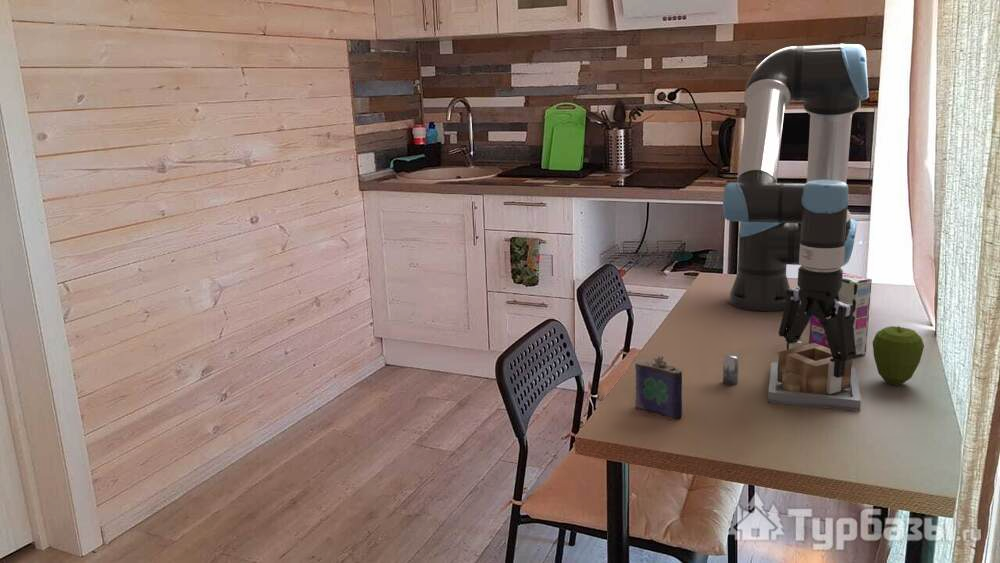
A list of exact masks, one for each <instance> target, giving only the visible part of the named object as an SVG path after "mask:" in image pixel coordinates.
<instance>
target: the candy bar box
mask: <svg viewBox="0 0 1000 563" xmlns="http://www.w3.org/2000/svg"><path fill="white" fill-rule="evenodd" d="M872 281H873V280H872V278H867V277H863V276H858V275H855V274H850V273H845V272H843V279H842V288H841V289H840V291H839V293H838V295H839V299H840V302H842V303H844V304H852V305H853V306H854V309H853V315H852V321H853V330H854V339H855V347H856V358H858V357H862V356H865V355H866V353H867V345H868V344H867V343H868V331H869V330H868V329H869V317H870V316H869V315H870V305H871V293H872ZM836 311H837V309H836ZM830 318H831V316H830V317H827V318H826V319H830ZM809 322H810V323H809V337H808V338H809V339H808V344H813V343H816V344H819V345H821V346H824V347H827V348H829V349H830V347H829V344H828V341H827V337H826V334H825V331H824V327H823V325H822V324H820V322H819V319H818V318H816V317H815V316H811V318H810V320H809Z"/></svg>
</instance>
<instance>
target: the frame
mask: <svg viewBox="0 0 1000 563" xmlns="http://www.w3.org/2000/svg"><path fill="white" fill-rule="evenodd" d="M839 353H840V352H839ZM832 358H833V357H832V354H831V351H830V349H829V348H827V347H824V346H821V345H819V344H816V343H813V344H809V343H808V344H806V345H805V344H803V345H802V346H801V347H796V348H792V349H788V350H787V349H784V350H779V351H778V361H777V363H778V378H777V381H778V382H780V383H782V389H783V390H785V391H790V392H802V393H811V394H822V395H825V394H828V393H827V379H828V365H829V359H832ZM852 367H853V359H850V360H846V363H845V374H844V376H843V377H842V380H841V390H843V389H847V388H850V382H851V369H853V368H852Z"/></svg>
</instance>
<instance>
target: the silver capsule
mask: <svg viewBox="0 0 1000 563" xmlns="http://www.w3.org/2000/svg"><path fill="white" fill-rule="evenodd" d="M739 359H740V358H739V355H738V354H736V353H724V354H723V363H722V364H723V365H722V366H723V367H722V383H723V385H727V386H736V385H737V383H739V381H738V380H739V378H738V377H739Z"/></svg>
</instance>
